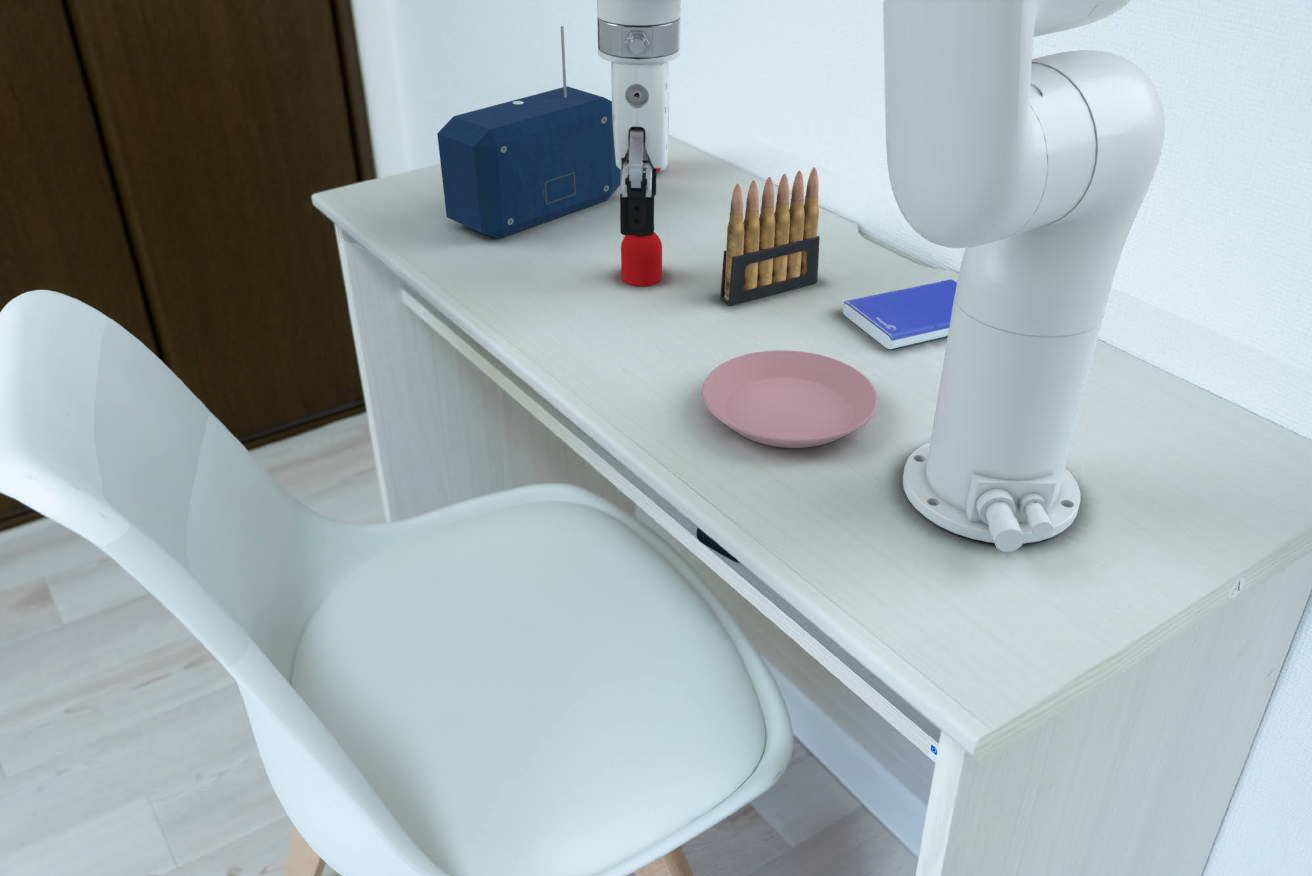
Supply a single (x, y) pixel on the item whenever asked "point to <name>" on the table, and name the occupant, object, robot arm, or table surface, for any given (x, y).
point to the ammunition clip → (771, 241)
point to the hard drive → (905, 314)
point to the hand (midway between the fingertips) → (638, 214)
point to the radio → (528, 160)
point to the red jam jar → (641, 260)
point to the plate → (789, 398)
